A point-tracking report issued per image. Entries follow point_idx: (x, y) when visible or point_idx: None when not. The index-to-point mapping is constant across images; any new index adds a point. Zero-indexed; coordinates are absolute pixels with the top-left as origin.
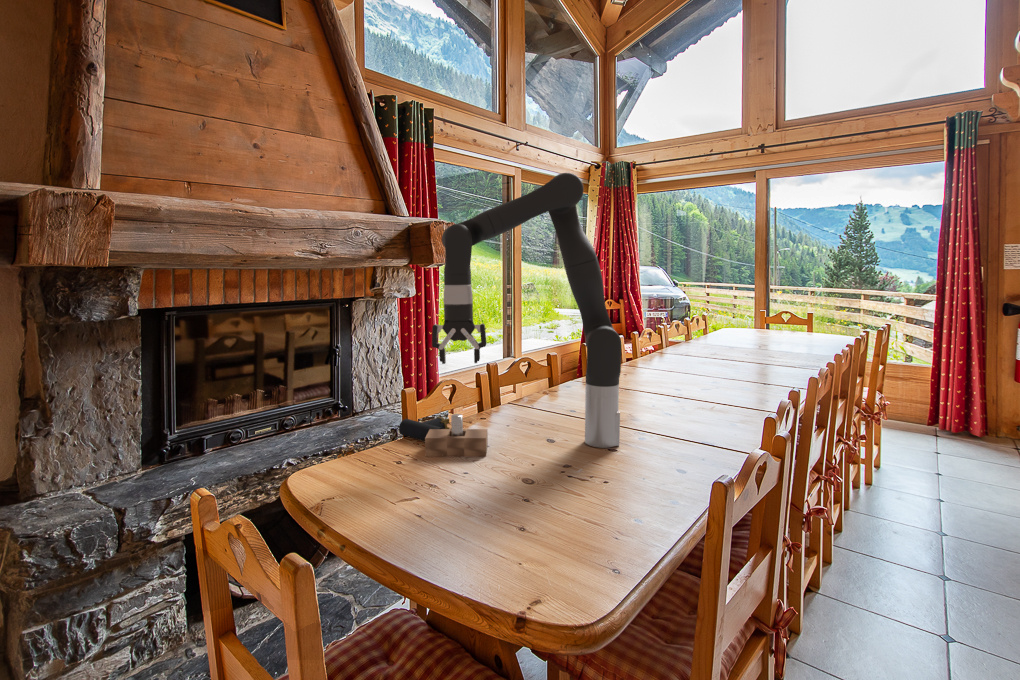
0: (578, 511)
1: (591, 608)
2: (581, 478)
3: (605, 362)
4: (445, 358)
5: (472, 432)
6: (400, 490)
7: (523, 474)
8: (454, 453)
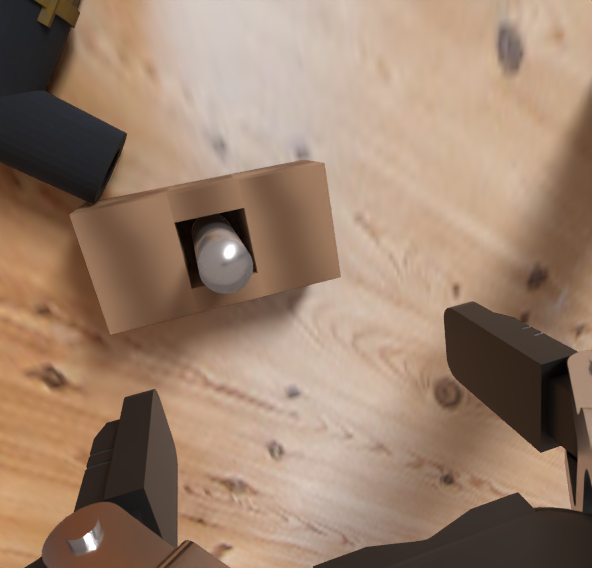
0: (533, 487)
1: None
2: None
3: None
4: (153, 412)
5: (275, 221)
6: None
7: (436, 360)
8: None
